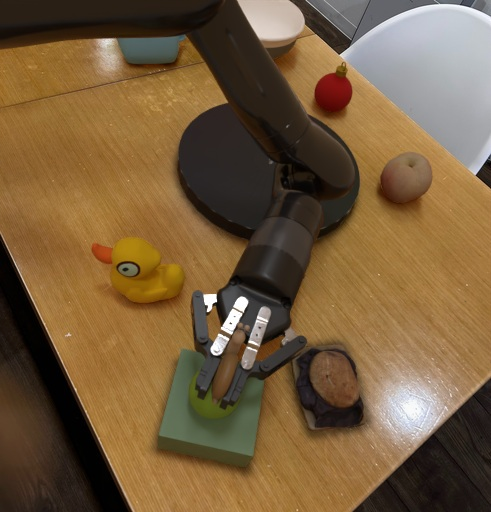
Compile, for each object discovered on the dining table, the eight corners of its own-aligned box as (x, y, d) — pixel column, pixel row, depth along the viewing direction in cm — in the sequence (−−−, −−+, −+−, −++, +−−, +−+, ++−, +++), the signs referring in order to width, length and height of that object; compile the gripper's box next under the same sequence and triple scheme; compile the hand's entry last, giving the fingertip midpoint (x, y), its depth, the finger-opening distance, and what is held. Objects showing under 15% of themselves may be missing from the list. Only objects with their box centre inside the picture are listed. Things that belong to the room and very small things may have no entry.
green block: (156, 448, 55) (158, 435, 51) (178, 365, 61) (181, 347, 57) (244, 467, 55) (253, 456, 51) (258, 383, 61) (266, 367, 57)
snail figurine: (242, 376, 56) (272, 332, 46) (227, 432, 52) (256, 397, 42) (196, 360, 56) (217, 313, 46) (178, 415, 52) (196, 376, 42)
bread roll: (285, 350, 64) (292, 337, 61) (345, 345, 66) (355, 332, 63) (303, 433, 58) (312, 424, 56) (369, 425, 60) (381, 415, 57)
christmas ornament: (350, 120, 95) (369, 74, 87) (315, 120, 93) (332, 74, 85) (338, 96, 99) (356, 51, 91) (305, 96, 97) (320, 49, 89)
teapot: (87, 32, 97) (82, -28, 88) (178, 32, 102) (182, -25, 93) (96, 71, 90) (91, 10, 81) (192, 69, 96) (197, 11, 87)
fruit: (368, 176, 87) (386, 141, 80) (410, 178, 88) (431, 144, 82) (380, 211, 82) (400, 177, 76) (424, 213, 84) (447, 179, 77)
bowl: (271, 22, 111) (280, -16, 104) (310, 72, 102) (322, 35, 95) (193, 28, 104) (196, -12, 97) (227, 82, 95) (233, 43, 89)
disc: (379, 239, 78) (387, 227, 76) (191, 251, 71) (193, 239, 68) (324, 114, 95) (329, 101, 92) (166, 113, 87) (167, 99, 85)
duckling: (91, 302, 64) (84, 257, 56) (101, 267, 67) (96, 220, 59) (179, 314, 65) (184, 272, 57) (185, 280, 68) (191, 236, 60)
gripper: (222, 222, 54) (146, 355, 44) (339, 271, 53) (289, 419, 43) (214, 260, 60) (145, 385, 50) (319, 305, 59) (271, 443, 49)
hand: (212, 400), depth 46 cm, fingers closed on snail figurine, 2 cm apart
